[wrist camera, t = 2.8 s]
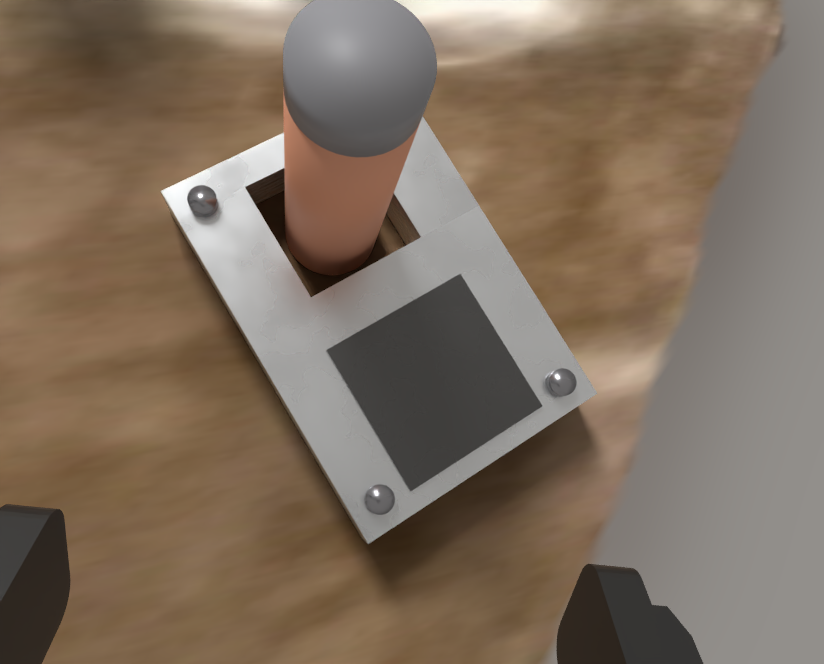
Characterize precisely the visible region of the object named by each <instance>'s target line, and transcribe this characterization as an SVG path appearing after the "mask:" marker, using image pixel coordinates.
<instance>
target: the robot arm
mask: <svg viewBox="0 0 824 664" xmlns="http://www.w3.org/2000/svg"><path fill="white" fill-rule="evenodd" d="M69 591H70V571H69V561H68V551H67V541H66V531H65V522H64V515H63V513H62V511H61V510H60V509H51V508H41V507H31V506H21V505H11V504H6V505H4V506H2V507H1V508H0V664H42V662H43V660H44V657H45V655H46V653H47V651H48V649H49V647H50V645H51V642H52V640H53V638H54V636H55V634H56V632H57V630H58V627H59V625H60V623H61V621H62V618H63V615H64V612H65V609H66V606H67V602H68V597H69ZM557 661H558V664H703V662H702V659H701V657H700V655H699V652H698V650H697V648H696V645H695V643H694V640H693V638H692V636H691V635H690V634H689V632H688V631H687V630H686V629H685V628H684V626H683V625H682V624H681V623H680V621H679V620H678V619H677V618H676V617H675V615H674V614H673V613H672V612H671V611H670V609H669V608H668V607H667V606H656V605H652V604H651V601H650V599H649V596H648V594H647V591H646V589H645V586H644V584H643V581H642V578H641V576H640V575H639V573H638V572H637V571H636V570H635V569H633V568H625V567H615V566H605V565H595V564H587V565H586V566H584V568H583V569H582V571H581V574H580V576H579V579H578V581H577V583H576V586H575V588H574V591H573V593H572V596H571V598H570V601H569V603H568V605H567V608H566V610H565V613H564V615H563V618H562V620H561V623H560V625H559V629H558V635H557Z"/></svg>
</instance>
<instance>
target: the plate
mask: <svg viewBox="0 0 824 664" xmlns="http://www.w3.org/2000/svg"><path fill="white" fill-rule="evenodd" d="M284 190H285V172H284V133H282V134H280V135H278V136H276V137H274V138H272V139H270V140H267V141H265V142H263V143H261V144H259V145H257V146H255V147H253V148H251V149H249V150H246V151H244V152H242V153H240V154H238V155H236V156H234V157H232V158H230V159H228V160H225V161H223V162H221V163H219V164H217V165H215V166H213V167H211V168H209V169H206V170H204V171H202V172H200V173H198V174H196V175H194V176H192V177H190V178H188V179H185V180H183V181H181V182H179V183H177V184H175V185H173V186H171V187H169V188H167V189H164V190H162V191H161V193H162V195H163V197H164V199H165V202H166V204H167V206H168V208H169V211H170V213H171V214H172V216H173V218H174V220H175V221H176V223H177V225H178V226H179V228H180V230H181V231H182V233H183V235H184V237H185V238H186V240H187V242H188V243H189V245H190V247H191V249H192V250H193V252H194V254H195V255H196V257H197V259H198V260H199V262H200V264H201V266H202V267H203V269H204V271H205V272H206V274H207V276H208V277H209V279H210V281H211V283H212V284H213V286H214V288H215V289H216V291H217V293H218V295H219V296H220V298H221V300H222V301H223V303H224V305H225V306H226V308H227V310H228V312H229V313H230V315H231V317H232V318H233V320H234V322H235V323H236V325H237V327H238V329H239V330H240V332H241V334H242V335H243V337H244V339H245V340H246V342H247V344H248V346H249V347H250V349H251V351H252V352H253V354H254V356H255V358H256V359H257V361H258V363H259V364H260V366H261V368H262V369H263V371H264V373H265V375H266V376H267V378H268V380H269V381H270V383H271V385H272V386H273V388H274V390H275V392H276V393H277V395H278V397H279V398H280V400H281V402H282V403H283V405H284V407H285V409H286V410H287V412H288V414H289V415H290V417H291V419H292V421H293V422H294V424H295V426H296V427H297V429H298V431H299V432H300V434H301V436H302V438H303V439H304V441H305V443H306V444H307V446H308V448H309V449H310V451H311V453H312V455H313V456H314V458H315V460H316V461H317V463H318V465H319V467H320V468H321V470H322V472H323V473H324V475H325V477H326V478H327V480H328V482H329V484H330V485H331V487H332V489H333V490H334V492H335V494H336V495H337V497H338V499H339V501H340V502H341V504H342V506H343V507H344V509H345V511H346V512H347V514H348V516H349V518H350V519H351V521H352V523H353V524H354V526H355V528H356V530H357V531H358V533H359V535H360V536H361V538H362V539H363V540H364V541H365V542H366V543H368V544H369V543H371V542H372V541H374V540H375V539H377V538H378V537H380V536H381V535H383V534H384V533H386V532H387V531H389V530H390V529H392V528H393V527H395V526H396V525H398V524H399V523H401V522H403V521H404V520H406V519H407V518H409V517H410V516H412V515H413V514H415V513H416V512H418V511H419V510H421V509H422V508H424V507H425V506H427V505H428V504H430V503H431V502H433V501H434V500H436V499H438V498H439V497H441V496H442V495H444V494H445V493H447V492H448V491H450V490H451V489H453V488H454V487H456V486H457V485H459V484H460V483H462V482H463V481H465V480H466V479H468V478H469V477H471V476H472V475H474V474H476V473H477V472H479V471H480V470H482V469H483V468H485V467H486V466H488V465H489V464H491V463H492V462H494V461H495V460H497V459H498V458H500V457H501V456H503V455H504V454H506V453H507V452H509V451H511V450H512V449H514V448H515V447H517V446H518V445H520V444H521V443H523V442H524V441H526V440H527V439H529V438H530V437H532V436H533V435H535V434H536V433H538V432H539V431H541V430H542V429H544V428H545V427H547V426H549V425H550V424H552V423H553V422H555V421H556V420H558V419H559V418H561V417H562V416H564V415H565V414H567V413H568V412H570V411H571V410H573V409H574V408H576V407H577V406H579V405H580V404H582V403H584V402H585V401H587V400H588V399H590V398H591V397H593V396H594V395H596V394H597V392H596V391H595V389H594V387H593V386H592V384H591V383H590V381H589V380H588V378H587V376H586V375H585V373H584V372H583V370H582V368H581V367H580V365H579V364H578V362H577V360H576V359H575V357H574V356H573V354H572V353H571V351H570V349H569V348H568V346H567V345H566V343H565V341H564V340H563V338H562V337H561V335H560V333H559V332H558V330H557V329H556V327H555V326H554V324H553V322H552V321H551V319H550V318H549V316H548V314H547V313H546V311H545V310H544V308H543V306H542V305H541V303H540V302H539V300H538V299H537V297H536V295H535V294H534V292H533V291H532V289H531V287H530V286H529V284H528V283H527V281H526V279H525V278H524V276H523V275H522V273H521V272H520V270H519V268H518V267H517V265H516V264H515V262H514V260H513V259H512V257H511V256H510V254H509V252H508V251H507V249H506V248H505V246H504V245H503V243H502V241H501V240H500V238H499V237H498V235H497V233H496V232H495V230H494V229H493V227H492V225H491V224H490V222H489V221H488V219H487V218H486V216H485V214H484V213H483V211H482V210H481V208H480V206H479V205H478V203H477V202H476V200H475V198H474V197H473V195H472V194H471V192H470V191H469V189H468V187H467V186H466V184H465V183H464V181H463V179H462V178H461V176H460V175H459V173H458V171H457V170H456V168H455V167H454V165H453V164H452V162H451V160H450V159H449V157H448V156H447V154H446V152H445V151H444V149H443V148H442V146H441V144H440V143H439V141H438V140H437V138H436V137H435V135H434V133H433V132H432V130H431V129H430V127H429V125H428V124H427V122H426V121H425V119H424V117H423V116H422V119H421V122H420V124H419V127H418V130H417V132H416V135H415V138H414V140H413V143H412V146H411V148H410V151H409V154H408V156H407V159H406V162H405V164H404V167H403V170H402V172H401V175H400V178H399V180H398V183H397V186H396V188H395V191H394V194H393V196H392V199H391V202H390V204H389V207H388V210H387V212H386V214H387V215H388V217H389V219H390V220H391V222H392V223H393V225H394V227H395V228H396V230H397V232H398V233H399V235H400V236H401V238H402V240H403V241H404V243H405V245H406V246H404V247H402V248H401V249H399V250H397V251H395V252H393V253H391V254H390V255H388V256H386V257H384V258H382V259H380V260H379V261H377V262H375V263H373V264H371V265H369V266H368V267H366V268H364V269H362V270H360V271H358V272H357V273H355V274H353V275H351V276H349V277H347V278H346V279H344V280H342V281H340V282H338V283H336V284H335V285H333V286H331V287H329V288H327V289H325V290H324V291H322V292H320V293H318V294H316V295H314V296H313V297H310V295H309V293H308V292H307V290H306V288H305V287H304V285H303V283H302V282H301V280H300V278H299V277H298V275H297V273H296V272H295V270H294V268H293V267H292V265H291V263H290V262H289V260H288V258H287V257H286V255H285V253H284V252H283V250H282V248H281V247H280V245H279V243H278V242H277V240H276V238H275V237H274V235H273V233H272V232H271V230H270V228H269V227H268V225H267V223H266V222H265V220H264V218H263V217H262V215H261V213H260V212H259V210H258V208H257V207H256V204H258V203H260V202H262V201H264V200H266V199H268V198H270V197H272V196H274V195H276V194H278V193H280V192H282V191H284Z"/></svg>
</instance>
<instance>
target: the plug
mask: <svg viewBox="0 0 824 664" xmlns="http://www.w3.org/2000/svg"><path fill="white" fill-rule="evenodd" d="M436 74H437V60H436V53H435V49H434V46H433V43H432V41H431V38H430V36H429V34H428V32H427V31H426V29H425V28H424V26H423V25H422V23H421V22H420V21H419V20H418V19H417V18H416V17H415V15H414V14H412V13H411V12H410V11H409V10H408V9H407V8H405V7H404V6H402V5H401V4H399V3H398V2H396V1H394V0H314V1H312V2H311V3H309V4H308V5H307V6H305V7H304V8H303V9H302V10H301V11H300V12H299V13H298V14H297V16H296V17H295V18H294V20H293V21H292V23H291V25H290V26H289V29H288V31H287V34H286V37H285V41H284V49H283V86H284V172H285V235H286V241H287V244H288V247H289V249H290V251H291V253H292V254H293V256H294V257H295V258H296V260H297V261H298V262H299V263H301V264H302V265H303V266H304V267H306V268H307V269H309V270H311V271H313V272H316V273H319V274H323V275H341V274H345V273H348V272H351V271H353V270H355V269H356V268H358V267H359V266H360V265H362V264H363V263H364V262H365V261H366V260H367V258H368V257H369V255H370V254H371V252H372V250H373V247H374V244H375V242H376V239H377V236H378V234H379V231H380V228H381V226H382V223H383V220H384V218H385V215H386V212H387V210H388V207H389V204H390V202H391V199H392V196H393V194H394V191H395V188H396V186H397V183H398V180H399V178H400V175H401V172H402V170H403V167H404V164H405V162H406V159H407V156H408V154H409V151H410V148H411V146H412V143H413V140H414V138H415V135H416V132H417V130H418V127H419V124H420V122H421V119H422V116H423V114H424V111H425V108H426V106H427V103H428V100H429V98H430V95H431V92H432V90H433V87H434V83H435V79H436Z"/></svg>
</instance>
